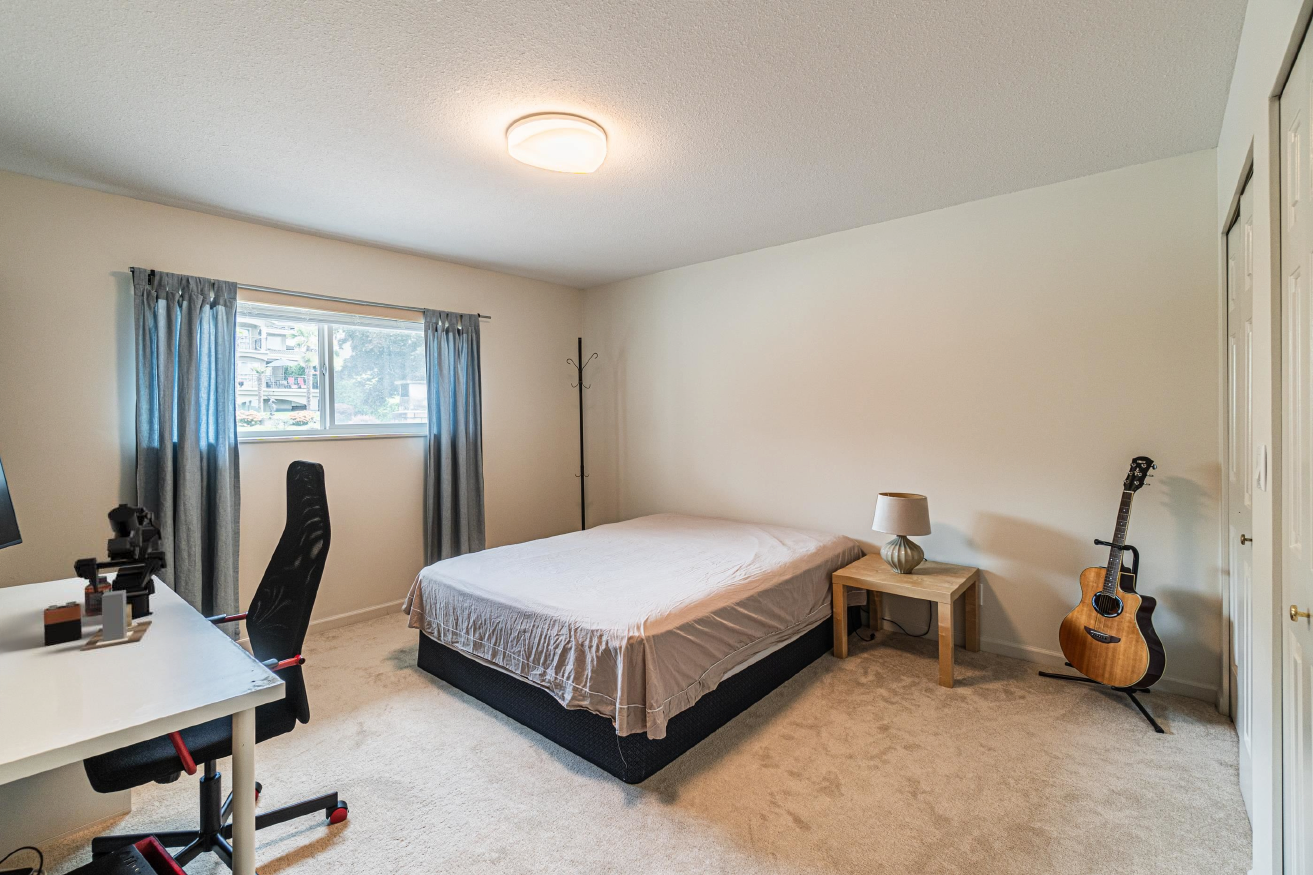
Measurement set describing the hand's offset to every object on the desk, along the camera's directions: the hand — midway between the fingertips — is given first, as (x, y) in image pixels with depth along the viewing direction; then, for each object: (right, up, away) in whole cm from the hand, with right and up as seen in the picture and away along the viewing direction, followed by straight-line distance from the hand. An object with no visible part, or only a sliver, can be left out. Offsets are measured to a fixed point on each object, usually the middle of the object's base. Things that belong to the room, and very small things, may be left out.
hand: (118, 589), depth 154 cm
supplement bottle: (-25, -13, +20) cm, 34 cm away
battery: (-11, -13, -4) cm, 17 cm away
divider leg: (+4, -12, -5) cm, 13 cm away
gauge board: (+1, -12, -1) cm, 13 cm away
